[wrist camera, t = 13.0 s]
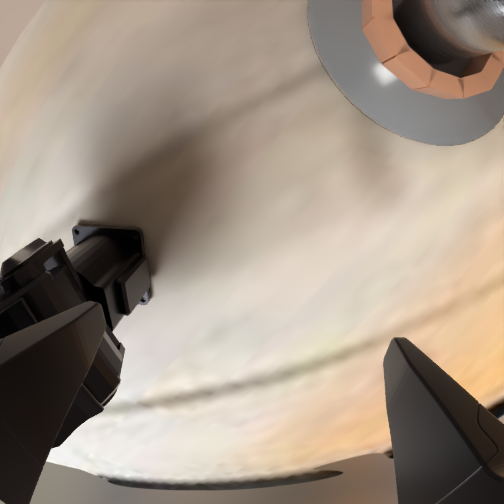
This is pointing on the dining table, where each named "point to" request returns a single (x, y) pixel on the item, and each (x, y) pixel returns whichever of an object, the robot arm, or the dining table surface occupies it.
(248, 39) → the dining table surface
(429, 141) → the slate seat plate
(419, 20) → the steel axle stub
